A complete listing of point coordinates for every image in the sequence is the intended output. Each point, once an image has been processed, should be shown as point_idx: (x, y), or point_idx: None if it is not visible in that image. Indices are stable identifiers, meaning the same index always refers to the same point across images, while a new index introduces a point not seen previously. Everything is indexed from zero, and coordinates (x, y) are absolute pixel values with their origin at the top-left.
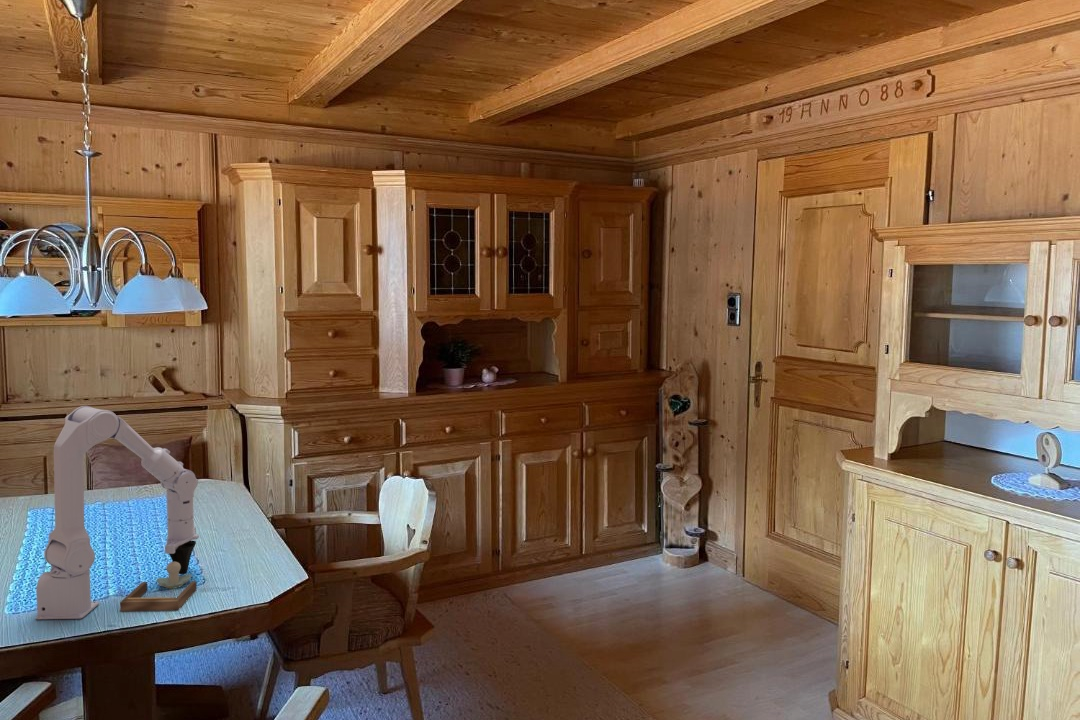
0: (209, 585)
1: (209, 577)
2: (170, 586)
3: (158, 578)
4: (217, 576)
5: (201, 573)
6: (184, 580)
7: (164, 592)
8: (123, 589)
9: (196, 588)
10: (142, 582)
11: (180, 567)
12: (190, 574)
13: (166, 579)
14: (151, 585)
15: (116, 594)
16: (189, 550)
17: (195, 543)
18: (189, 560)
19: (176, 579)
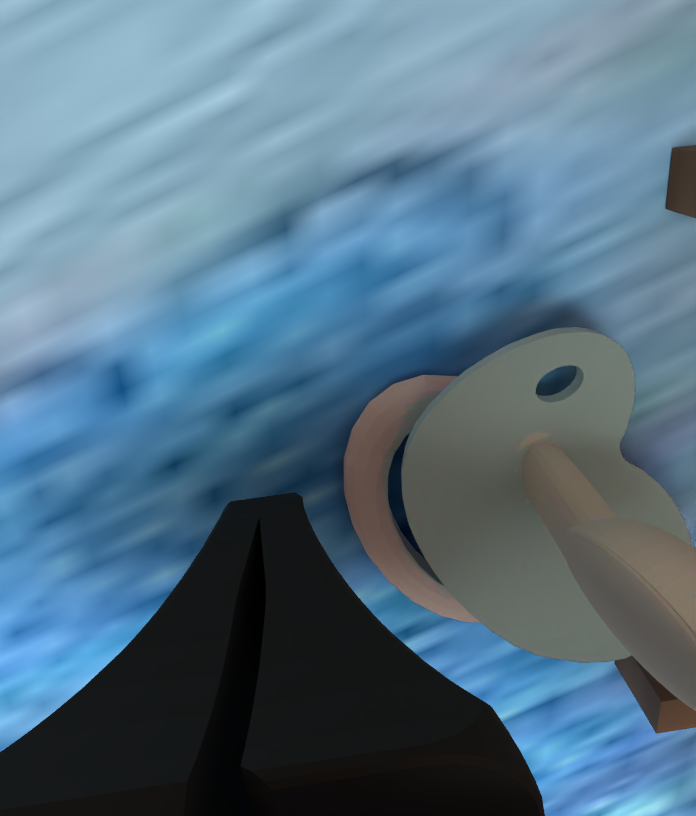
0: (524, 25)
1: (212, 175)
2: (640, 472)
3: (562, 658)
4: (152, 62)
5: (87, 356)
6: (535, 393)
7: (691, 474)
8: (569, 787)
9: (690, 148)
10: (668, 728)
11: (633, 537)
12: (467, 377)
13: (492, 592)
14: (491, 659)
15: (669, 777)
16: (402, 707)
17: (9, 810)
18: (190, 582)
19: (583, 478)
